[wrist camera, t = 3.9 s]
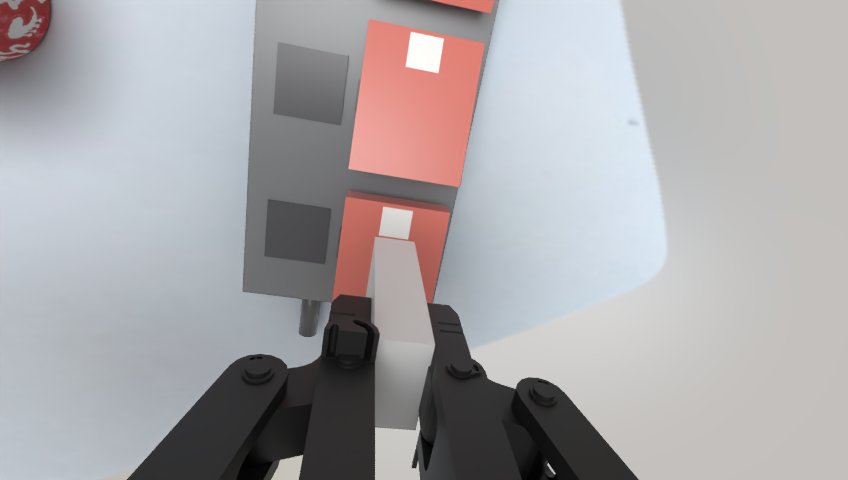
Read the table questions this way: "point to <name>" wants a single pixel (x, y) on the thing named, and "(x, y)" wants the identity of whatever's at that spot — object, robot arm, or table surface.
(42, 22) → the mug
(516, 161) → the table surface
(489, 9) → the block
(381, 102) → the red box
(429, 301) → the rocker
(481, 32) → the power strip
